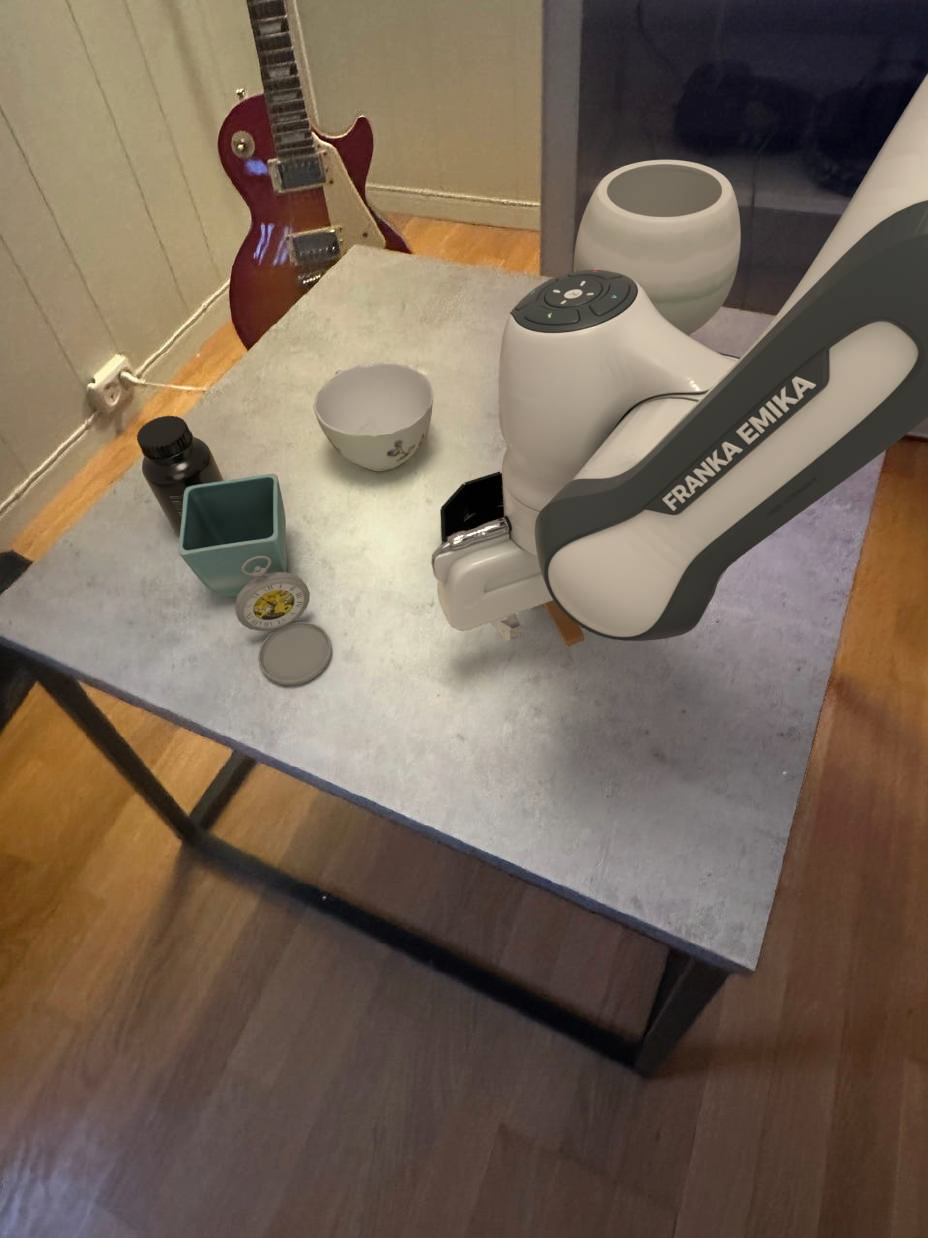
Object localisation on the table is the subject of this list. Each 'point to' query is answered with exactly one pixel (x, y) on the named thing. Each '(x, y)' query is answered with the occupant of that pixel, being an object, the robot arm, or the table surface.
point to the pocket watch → (283, 626)
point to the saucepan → (484, 503)
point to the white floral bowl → (375, 413)
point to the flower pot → (233, 531)
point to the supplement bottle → (174, 463)
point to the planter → (665, 236)
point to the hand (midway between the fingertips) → (559, 615)
